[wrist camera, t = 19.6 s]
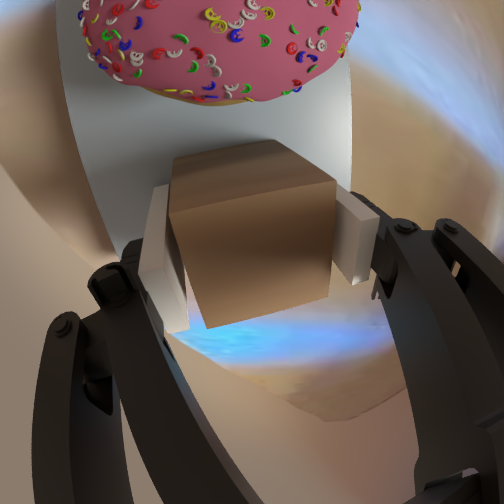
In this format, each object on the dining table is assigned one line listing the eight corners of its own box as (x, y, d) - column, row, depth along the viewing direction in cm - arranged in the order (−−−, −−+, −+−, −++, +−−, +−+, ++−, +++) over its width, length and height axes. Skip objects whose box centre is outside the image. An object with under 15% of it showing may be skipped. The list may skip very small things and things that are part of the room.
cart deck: (74, -1, 7) (55, -14, 4) (308, -34, 9) (331, -49, 6) (135, 253, 17) (129, 281, 15) (326, 209, 19) (347, 229, 17)
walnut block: (173, 158, 12) (168, 214, 7) (275, 139, 12) (336, 180, 8) (194, 244, 15) (207, 329, 10) (281, 225, 15) (328, 296, 11)
